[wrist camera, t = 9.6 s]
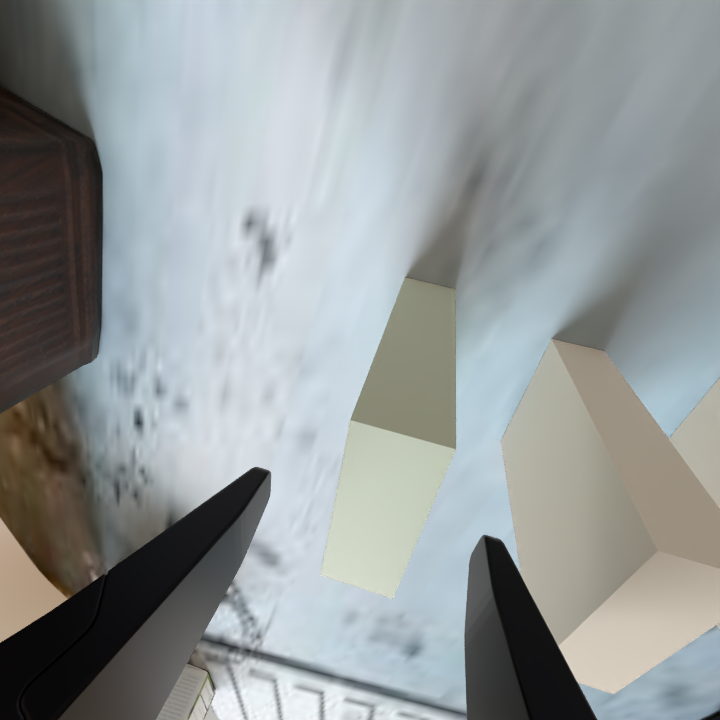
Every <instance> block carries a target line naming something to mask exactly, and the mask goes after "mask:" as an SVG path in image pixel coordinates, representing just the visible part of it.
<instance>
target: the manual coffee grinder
mask: <svg viewBox="0 0 720 720" xmlns="http://www.w3.org/2000/svg"><path fill="white" fill-rule="evenodd" d="M101 276H102V173H101V169H100V165H99V161H98V157H97V153H96V149H95V146H94V144H93V142H92V140H91V139H90V138H88V137H86V136H85V135H83V134H81V133H80V132H78V131H76V130H74V129H73V128H71V127H69V126H68V125H66V124H64V123H62V122H61V121H59V120H57V119H56V118H54V117H52V116H50V115H49V114H47V113H45V112H44V111H42V110H40V109H38V108H37V107H35V106H33V105H32V104H30V103H28V102H26V101H25V100H23V99H21V98H20V97H18V96H16V95H15V94H13V93H11V92H10V91H8V90H6V89H5V88H3V87H1V86H0V413H2V412H4V411H5V410H7V409H9V408H11V407H12V406H14V405H16V404H17V403H19V402H21V401H23V400H24V399H26V398H28V397H29V396H31V395H33V394H35V393H36V392H38V391H40V390H41V389H43V388H45V387H46V386H48V385H50V384H52V383H53V382H55V381H57V380H59V379H60V378H62V377H64V376H66V375H67V374H69V373H71V372H72V371H74V370H76V369H78V368H79V367H81V366H83V365H85V364H88V363H91V362H92V361H93V360H94V359H95V358H96V357H97V353H98V345H99V338H100V330H101Z"/></svg>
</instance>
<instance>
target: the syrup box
mask: <svg viewBox="0 0 720 720" xmlns="http://www.w3.org/2000/svg"><path fill="white" fill-rule="evenodd" d="M214 695H215V690H214V687H213V685H212V682H211V679H210V677H209V674H208V672H207V671H205V670H202V669H200V668H198V667H195V666H192V665H189V664H186V666H185V668H184V670H183V671H182V673H181V675H180V677H179V679H178V681H177V682H176V684H175V686H174V688H173V690H172V691H171V693H170V695H169V697H168V699H167V701H166V702H165V704H164V706H163V708H162V710H161V711H160V713H159V715H158V717H157V719H156V720H204V718H205V716H206V714H207V711H208V709H209V707H210V704H211V702H212V700H213V697H214Z"/></svg>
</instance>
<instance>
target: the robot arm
mask: <svg viewBox="0 0 720 720" xmlns="http://www.w3.org/2000/svg"><path fill="white" fill-rule="evenodd" d="M270 492H271V472H270V471H269V470H266V469H263V468H259V467H254V468H252V469H250V470H249V471H248V472H246V473H245V474H243V475H242V476H241V477H239V478H238V479H236V480H235V481H234V482H232V483H231V484H229V485H228V486H227V487H225V488H224V489H222V490H221V491H220V492H218V493H217V494H215V495H214V496H213V497H211V498H210V499H208V500H207V501H206V502H204V503H203V504H201V505H200V506H199V507H197V508H196V509H194V510H193V511H192V512H190V513H189V514H187V515H186V516H185V517H183V518H182V519H180V520H179V521H178V522H176V523H175V524H173V525H172V526H171V527H169V528H168V529H166V530H165V531H164V532H162V533H161V534H159V535H158V536H157V537H155V538H154V539H152V540H151V541H150V542H148V543H147V544H146V545H144V546H143V547H141V548H140V549H139V550H137V551H136V552H134V553H133V554H132V555H130V556H129V557H127V558H126V559H125V560H123V561H122V562H120V563H119V564H118V565H116V566H115V567H113V568H112V569H111V570H109V571H108V573H107V574H103V575H102V576H100V577H99V578H98V579H96V580H95V581H94V582H92V583H91V584H89V585H88V586H87V587H85V588H84V589H82V590H81V591H79V592H78V593H76V594H75V595H74V596H72V597H71V598H69V599H68V600H66V601H65V602H63V603H62V604H60V605H59V606H58V607H56V608H55V609H53V610H52V611H50V612H49V613H47V614H45V615H44V616H42V617H41V618H39V619H38V620H36V621H34V622H33V623H31V624H30V625H28V626H26V627H25V628H24V629H22V630H20V631H19V632H17V633H15V634H14V635H12V636H11V637H9V638H7V639H6V640H4V641H2V642H1V643H0V720H156V719H157V717H158V715H159V713H160V711H161V710H162V708H163V706H164V704H165V702H166V701H167V699H168V697H169V695H170V693H171V691H172V690H173V688H174V686H175V684H176V682H177V681H178V679H179V677H180V675H181V673H182V671H183V670H184V668H185V666H186V664H187V662H188V661H189V659H190V657H191V655H192V653H193V652H194V650H195V648H196V646H197V644H198V642H199V641H200V639H201V637H202V635H203V633H204V632H205V630H206V628H207V626H208V624H209V622H210V621H211V619H212V617H213V615H214V613H215V612H216V610H217V608H218V606H219V604H220V602H221V601H222V599H223V597H224V595H225V593H226V592H227V590H228V588H229V586H230V584H231V582H232V581H233V579H234V577H235V575H236V573H237V571H238V570H239V568H240V566H241V564H242V562H243V559H244V557H245V555H246V553H247V550H248V548H249V546H250V543H251V541H252V538H253V536H254V534H255V531H256V529H257V527H258V524H259V522H260V519H261V517H262V515H263V512H264V510H265V508H266V505H267V503H268V500H269V497H270ZM465 673H466V702H467V720H597V718H596V716H595V714H594V713H593V711H592V709H591V707H590V705H589V703H588V701H587V699H586V697H585V696H584V694H583V692H582V690H581V688H580V686H579V684H578V682H577V681H576V679H575V677H574V675H573V673H572V671H571V669H570V667H569V665H568V664H567V662H566V660H565V658H564V656H563V654H562V652H561V650H560V648H559V647H558V645H557V643H556V641H555V639H554V637H553V635H552V633H551V631H550V630H549V628H548V626H547V624H546V622H545V620H544V618H543V616H542V614H541V613H540V611H539V609H538V607H537V605H536V603H535V601H534V599H533V597H532V596H531V594H530V592H529V590H528V588H527V586H526V584H525V582H524V580H523V579H522V577H521V575H520V573H519V571H518V569H517V567H516V565H515V564H514V562H513V560H512V558H511V556H510V554H509V552H508V550H507V548H506V547H505V545H504V543H503V542H502V541H501V540H500V539H498V538H494V537H491V536H488V535H483V536H482V537H481V538H480V540H479V542H478V544H477V545H476V547H475V549H474V551H473V552H472V554H471V557H470V562H469V576H468V590H467V605H466V619H465ZM711 720H720V716H718V717H716V718H713V719H711Z"/></svg>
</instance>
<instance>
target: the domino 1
mask: <svg viewBox="0 0 720 720" xmlns="http://www.w3.org/2000/svg"><path fill="white" fill-rule="evenodd" d="M455 451H456V300H455V289H453V288H449V287H444V286H440V285H436V284H431V283H427V282H423V281H418V280H414V279H410V278H405V279H404V281H403V284H402V287H401V289H400V292H399V294H398V297H397V300H396V302H395V305H394V308H393V310H392V313H391V315H390V318H389V321H388V323H387V326H386V328H385V331H384V334H383V336H382V339H381V341H380V344H379V347H378V349H377V352H376V354H375V357H374V360H373V362H372V365H371V367H370V370H369V373H368V375H367V378H366V381H365V383H364V386H363V388H362V391H361V394H360V396H359V399H358V401H357V404H356V407H355V409H354V412H353V414H352V417H351V420H350V424H349V430H348V435H347V440H346V445H345V450H344V455H343V461H342V466H341V471H340V476H339V481H338V486H337V492H336V497H335V502H334V507H333V512H332V517H331V523H330V528H329V533H328V538H327V543H326V548H325V554H324V559H323V564H322V569H321V574H320V575H322V576H325V577H328V578H331V579H334V580H337V581H340V582H343V583H346V584H349V585H352V586H355V587H358V588H361V589H364V590H368V591H371V592H374V593H377V594H380V595H383V596H386V597H389V598H392V599H393V597H394V595H395V593H396V590H397V588H398V586H399V583H400V581H401V578H402V576H403V574H404V571H405V569H406V567H407V564H408V562H409V560H410V557H411V555H412V552H413V550H414V548H415V545H416V543H417V541H418V538H419V536H420V533H421V531H422V529H423V526H424V524H425V522H426V519H427V517H428V515H429V512H430V510H431V507H432V505H433V503H434V500H435V498H436V496H437V493H438V491H439V488H440V486H441V484H442V481H443V479H444V477H445V474H446V472H447V470H448V467H449V465H450V462H451V460H452V458H453V455H454V453H455Z"/></svg>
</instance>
